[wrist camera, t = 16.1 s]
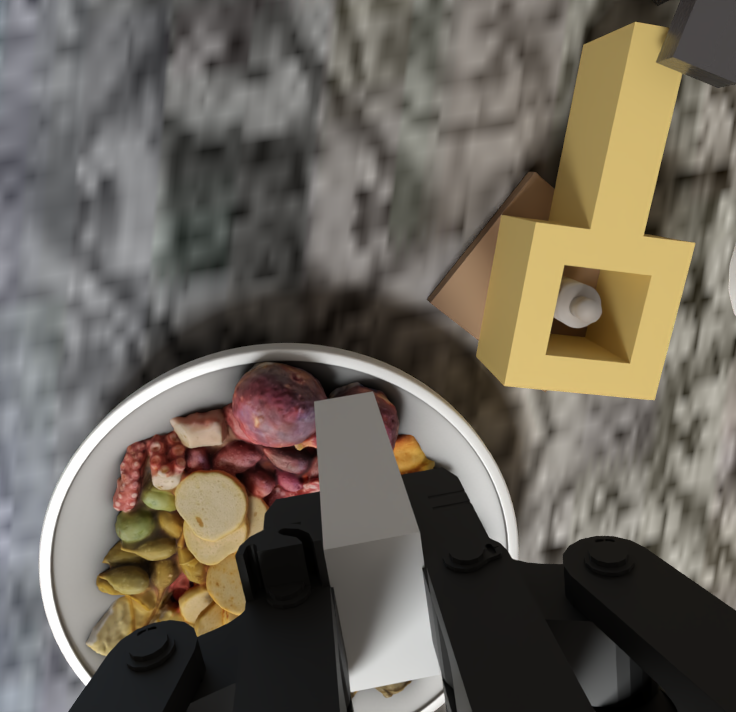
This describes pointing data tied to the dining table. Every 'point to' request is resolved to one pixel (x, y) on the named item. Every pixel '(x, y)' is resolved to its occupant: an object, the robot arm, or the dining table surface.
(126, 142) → the dining table surface
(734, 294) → the honey pot
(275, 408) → the bowl
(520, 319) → the link
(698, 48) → the keeper
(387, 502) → the robot arm
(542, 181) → the pintle stand
